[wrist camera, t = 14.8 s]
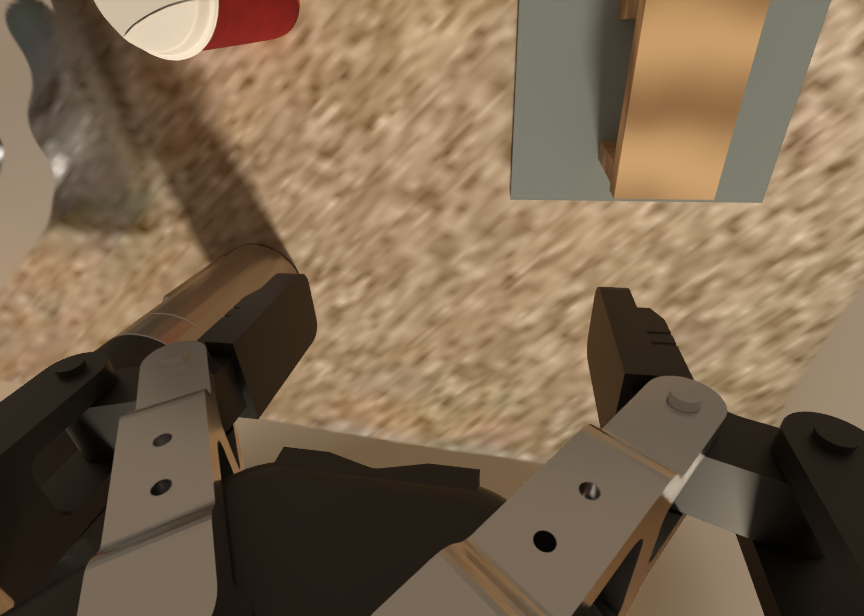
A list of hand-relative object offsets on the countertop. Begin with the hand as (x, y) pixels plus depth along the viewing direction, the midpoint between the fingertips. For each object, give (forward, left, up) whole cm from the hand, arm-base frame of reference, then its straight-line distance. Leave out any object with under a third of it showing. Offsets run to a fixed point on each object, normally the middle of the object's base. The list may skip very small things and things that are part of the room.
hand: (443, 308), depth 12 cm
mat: (+11, +3, -30) cm, 32 cm away
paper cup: (-19, +10, -30) cm, 37 cm away
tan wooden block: (+11, +3, -29) cm, 31 cm away
